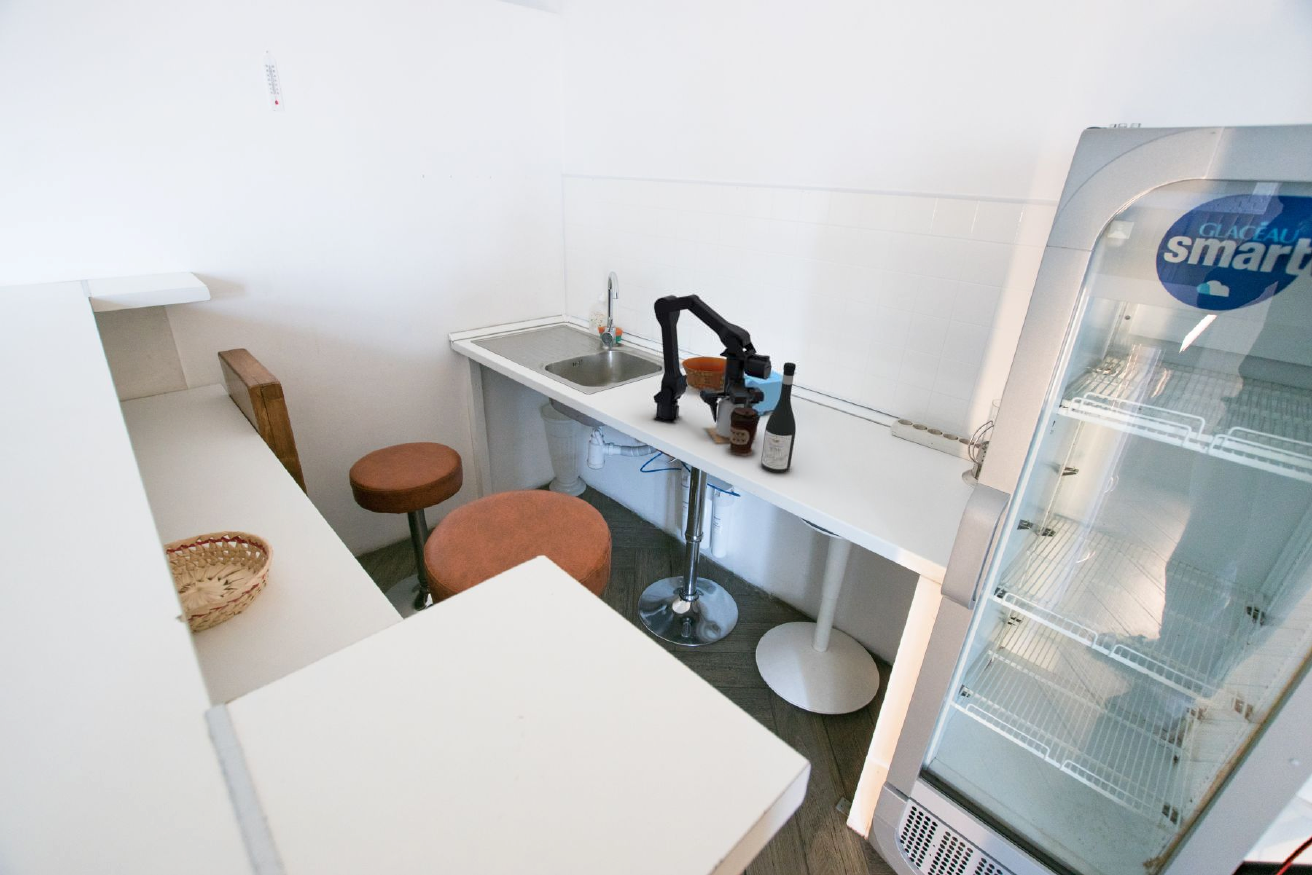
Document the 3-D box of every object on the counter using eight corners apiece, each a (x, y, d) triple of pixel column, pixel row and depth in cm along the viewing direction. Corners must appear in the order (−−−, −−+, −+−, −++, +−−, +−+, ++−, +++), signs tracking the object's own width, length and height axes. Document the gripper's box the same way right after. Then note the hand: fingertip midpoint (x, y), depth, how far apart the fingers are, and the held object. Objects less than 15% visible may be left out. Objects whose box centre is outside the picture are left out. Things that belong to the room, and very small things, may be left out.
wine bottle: (785, 476, 156) (801, 370, 143) (757, 469, 159) (770, 365, 147) (792, 465, 162) (808, 362, 150) (765, 458, 165) (779, 357, 153)
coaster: (716, 443, 173) (716, 442, 173) (706, 429, 183) (706, 428, 183) (750, 441, 176) (750, 441, 176) (739, 427, 185) (739, 427, 185)
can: (737, 430, 183) (741, 394, 178) (741, 439, 176) (745, 403, 171) (714, 429, 183) (717, 393, 178) (717, 439, 176) (720, 402, 171)
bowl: (672, 381, 225) (674, 356, 221) (723, 378, 231) (725, 354, 227) (691, 400, 207) (693, 373, 203) (745, 396, 213) (748, 370, 209)
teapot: (748, 417, 193) (753, 378, 188) (731, 406, 203) (735, 368, 197) (801, 410, 202) (807, 372, 197) (782, 399, 211) (787, 363, 206)
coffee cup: (745, 460, 163) (750, 418, 158) (720, 452, 168) (724, 410, 163) (760, 451, 170) (765, 410, 165) (735, 443, 174) (740, 402, 169)
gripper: (712, 382, 162) (707, 432, 168) (774, 380, 166) (767, 430, 172) (701, 370, 172) (697, 418, 178) (760, 368, 176) (754, 416, 182)
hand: (729, 421), depth 177 cm, fingers open, 9 cm apart
